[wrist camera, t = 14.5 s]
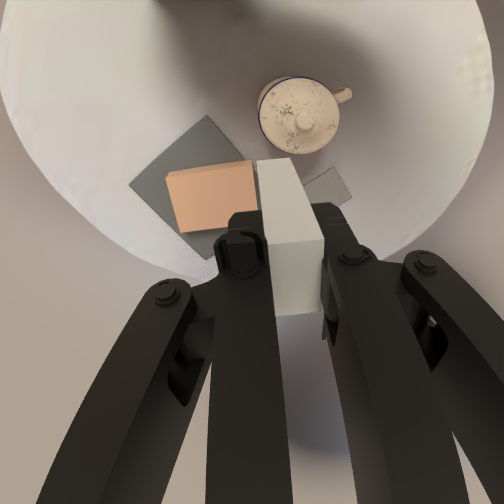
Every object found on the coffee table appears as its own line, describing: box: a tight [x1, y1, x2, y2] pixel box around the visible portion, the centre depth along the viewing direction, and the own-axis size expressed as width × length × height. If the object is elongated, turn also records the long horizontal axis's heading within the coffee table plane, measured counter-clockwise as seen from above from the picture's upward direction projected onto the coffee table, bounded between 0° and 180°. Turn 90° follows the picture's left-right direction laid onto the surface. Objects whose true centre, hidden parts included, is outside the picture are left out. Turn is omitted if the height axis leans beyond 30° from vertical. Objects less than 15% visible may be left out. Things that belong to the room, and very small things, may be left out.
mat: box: [129, 115, 262, 260], centre depth 44 cm, size 18×16×1 cm
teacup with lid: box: [257, 77, 352, 155], centre depth 31 cm, size 12×9×12 cm
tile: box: [165, 160, 258, 233], centre depth 42 cm, size 3×9×12 cm
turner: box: [303, 167, 352, 206], centre depth 46 cm, size 20×6×2 cm, turn 127°
